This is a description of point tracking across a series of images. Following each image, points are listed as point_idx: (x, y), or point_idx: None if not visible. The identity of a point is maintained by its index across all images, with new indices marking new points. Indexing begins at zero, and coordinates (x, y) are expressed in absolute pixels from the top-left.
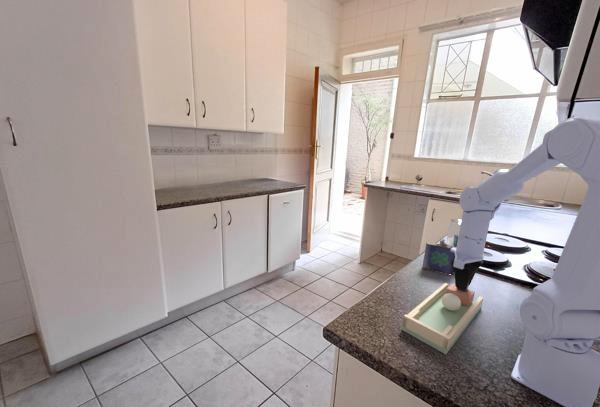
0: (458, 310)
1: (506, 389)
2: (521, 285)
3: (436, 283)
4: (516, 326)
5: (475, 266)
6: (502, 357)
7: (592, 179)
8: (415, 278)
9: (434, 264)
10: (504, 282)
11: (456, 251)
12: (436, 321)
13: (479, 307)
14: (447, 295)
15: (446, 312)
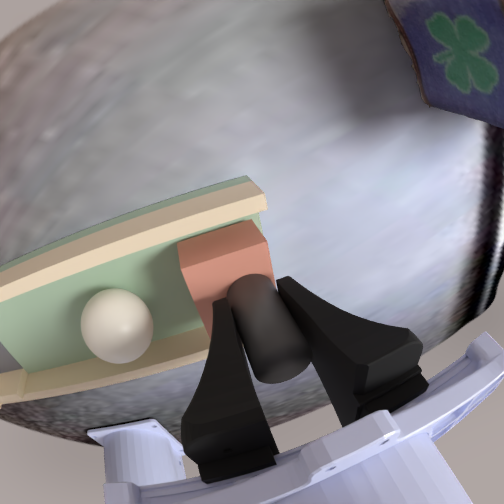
0: None
1: (63, 431)
2: (477, 249)
3: (302, 100)
4: None
5: (338, 409)
6: (115, 411)
7: None
8: (245, 11)
9: (426, 32)
10: (474, 224)
11: (286, 497)
12: (24, 328)
13: None
14: (93, 341)
15: None
